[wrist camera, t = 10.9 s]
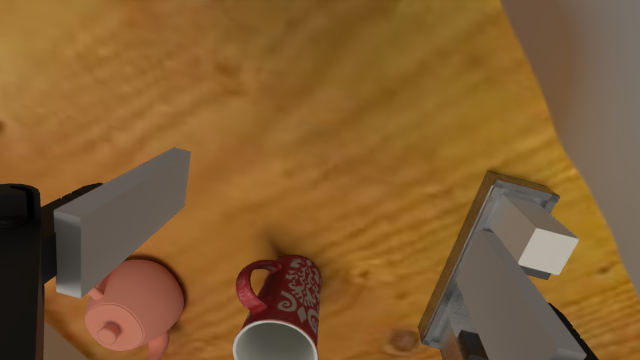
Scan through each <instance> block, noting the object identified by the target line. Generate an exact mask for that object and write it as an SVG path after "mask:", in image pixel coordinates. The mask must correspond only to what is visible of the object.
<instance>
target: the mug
mask: <svg viewBox="0 0 640 360" xmlns="http://www.w3.org/2000/svg"><path fill="white" fill-rule="evenodd" d="M254 269H266V270H269V273H268V275H267V277H266V279H265V281H264V283H263V285H262V287H261V289H260V291H259V294H258V296H256V295H255V293H254V292H253V289H252V287H251V283H250V277H251V273H252V271H253V270H254ZM320 291H321V275H320V272H319V270H318V268H317V267H316V265H315V264H314V263H313V262H311V261H310V260H308V259H307V258H304V257H302V256H297V255H288V256H284V257H282V258H280V259H278V260H277V261H275V260H259V261H255V262H253V263H251V264H249V265H248V266H246V267H245V268H243V269H242V271H241V272H240V273H239V275H238V277H237V281H236V292H237V295H238V298H239V300H240V301H241V303H242V304H243V305H244V306H245V307H246V308H247V309H249V310H250V312H249V314H248V316H247V318H246V320H245V323H244V325H243V327H242V329H241V330H240V331H239V332H238V334H237V335H236V337H235V339H234V342H233V356H234V359H235V360H318V350H317V340H318V323H319V306H320Z"/></svg>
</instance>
